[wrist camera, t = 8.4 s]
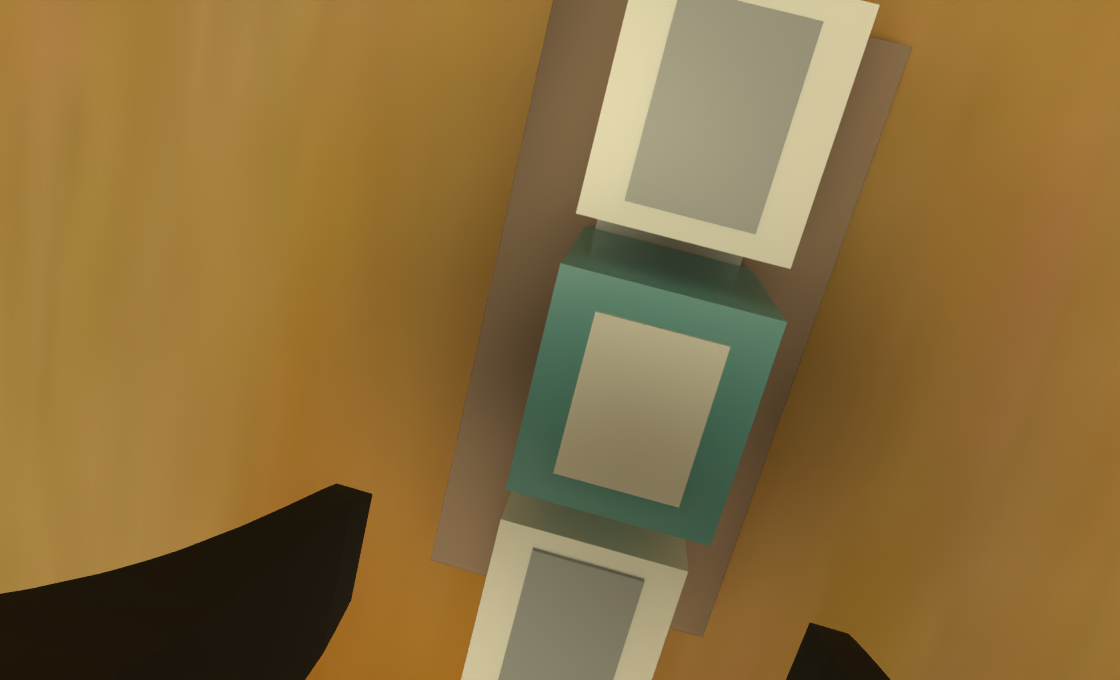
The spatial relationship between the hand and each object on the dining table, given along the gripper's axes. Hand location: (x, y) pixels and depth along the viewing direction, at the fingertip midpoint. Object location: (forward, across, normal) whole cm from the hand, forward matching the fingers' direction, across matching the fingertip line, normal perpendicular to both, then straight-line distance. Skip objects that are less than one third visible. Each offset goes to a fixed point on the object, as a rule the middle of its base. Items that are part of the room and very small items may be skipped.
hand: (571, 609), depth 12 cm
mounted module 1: (+8, 0, +3) cm, 8 cm away
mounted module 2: (+8, 0, -8) cm, 11 cm away
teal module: (+8, 0, -3) cm, 8 cm away
